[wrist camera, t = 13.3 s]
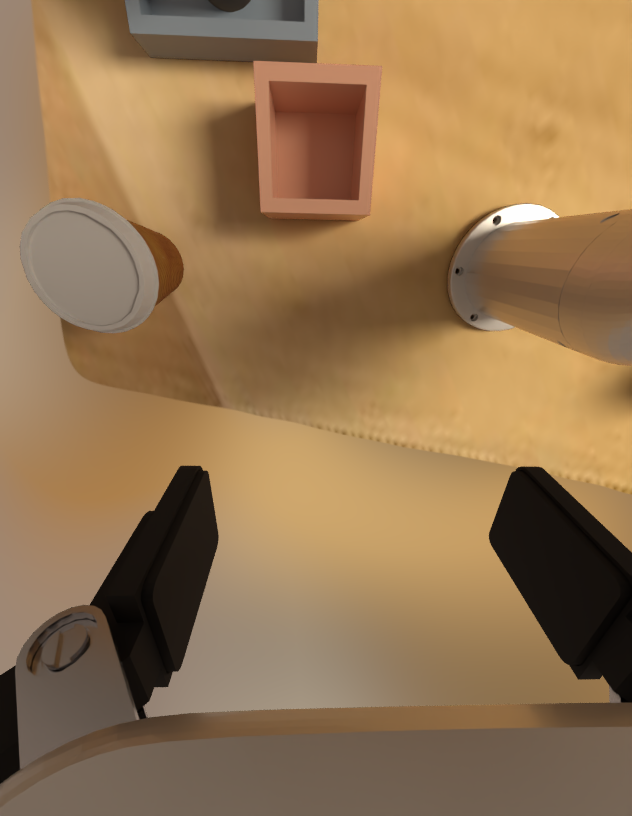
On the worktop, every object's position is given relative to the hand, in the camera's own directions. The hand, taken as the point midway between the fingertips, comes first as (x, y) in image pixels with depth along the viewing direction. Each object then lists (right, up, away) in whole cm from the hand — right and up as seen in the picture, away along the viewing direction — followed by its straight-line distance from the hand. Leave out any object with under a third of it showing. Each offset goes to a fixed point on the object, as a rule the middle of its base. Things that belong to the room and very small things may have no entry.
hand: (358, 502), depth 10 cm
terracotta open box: (-1, +26, +21) cm, 33 cm away
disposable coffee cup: (-19, +18, +24) cm, 36 cm away
